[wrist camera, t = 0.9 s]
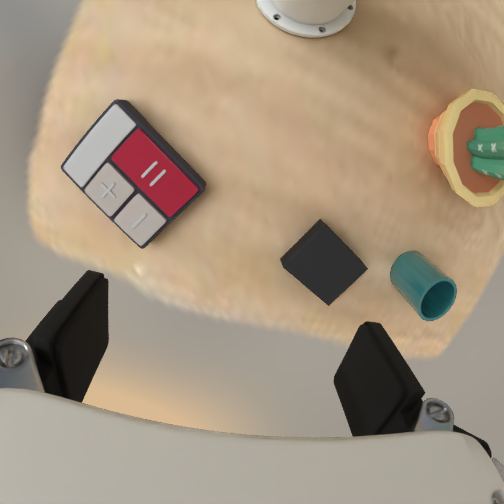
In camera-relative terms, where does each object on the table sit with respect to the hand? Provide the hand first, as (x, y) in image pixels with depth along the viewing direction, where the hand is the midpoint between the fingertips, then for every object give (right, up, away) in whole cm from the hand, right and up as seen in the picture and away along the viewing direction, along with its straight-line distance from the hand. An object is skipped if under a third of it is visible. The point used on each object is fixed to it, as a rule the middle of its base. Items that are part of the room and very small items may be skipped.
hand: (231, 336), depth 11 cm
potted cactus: (+29, +19, +25) cm, 43 cm away
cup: (+24, 0, +33) cm, 41 cm away
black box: (+10, +2, +31) cm, 33 cm away
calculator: (-14, +13, +25) cm, 31 cm away
